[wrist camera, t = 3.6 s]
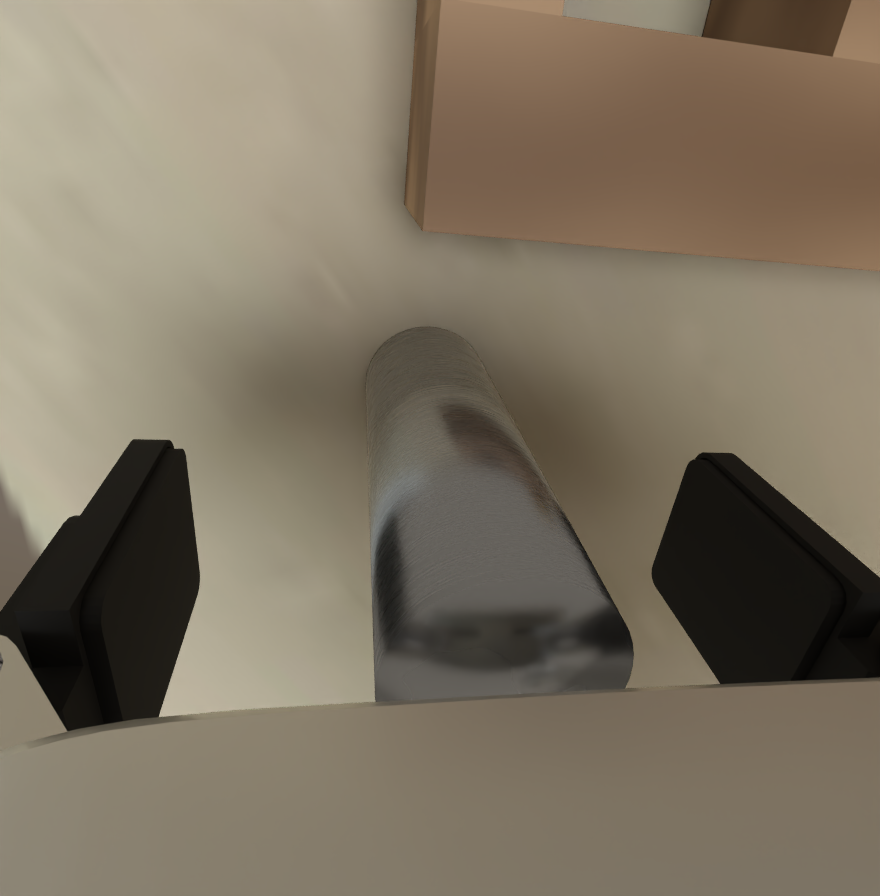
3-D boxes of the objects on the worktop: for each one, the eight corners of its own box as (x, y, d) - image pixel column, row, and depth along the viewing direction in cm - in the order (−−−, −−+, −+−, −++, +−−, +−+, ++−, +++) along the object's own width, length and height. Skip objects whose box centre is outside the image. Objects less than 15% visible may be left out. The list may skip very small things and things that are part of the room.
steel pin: (476, 440, 19) (601, 758, 9) (363, 436, 18) (369, 772, 9) (491, 330, 17) (663, 579, 7) (368, 322, 17) (381, 579, 7)
